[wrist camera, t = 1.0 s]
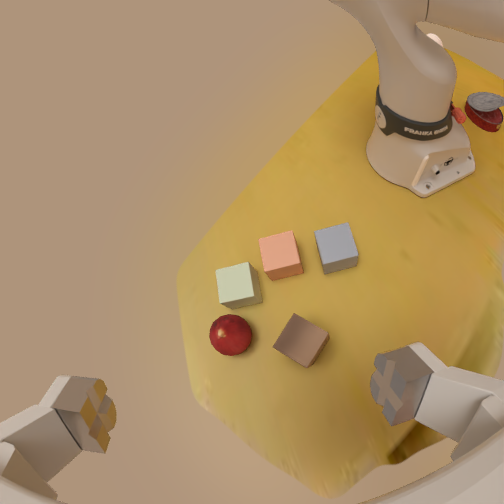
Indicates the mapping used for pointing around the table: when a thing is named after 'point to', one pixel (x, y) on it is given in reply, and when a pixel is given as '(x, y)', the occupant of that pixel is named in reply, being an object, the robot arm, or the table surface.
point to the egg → (435, 39)
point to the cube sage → (238, 286)
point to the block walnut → (301, 341)
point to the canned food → (485, 110)
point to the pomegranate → (230, 335)
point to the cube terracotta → (280, 255)
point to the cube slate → (336, 248)
